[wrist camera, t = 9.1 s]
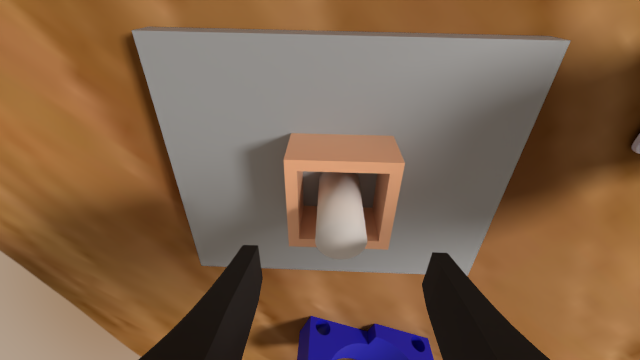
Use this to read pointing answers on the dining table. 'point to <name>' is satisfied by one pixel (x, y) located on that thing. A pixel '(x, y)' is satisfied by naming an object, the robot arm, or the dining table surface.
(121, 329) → the dining table surface
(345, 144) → the collar
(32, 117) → the dining table surface
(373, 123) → the post board
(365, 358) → the cable clip
